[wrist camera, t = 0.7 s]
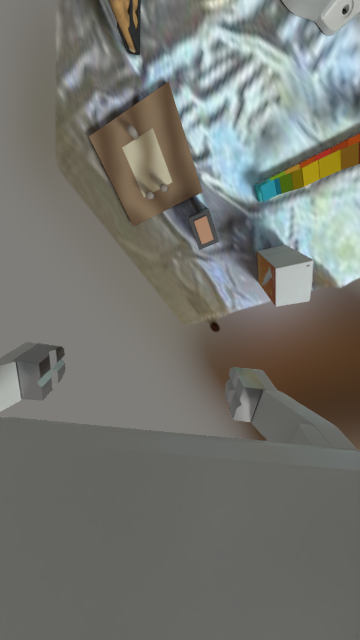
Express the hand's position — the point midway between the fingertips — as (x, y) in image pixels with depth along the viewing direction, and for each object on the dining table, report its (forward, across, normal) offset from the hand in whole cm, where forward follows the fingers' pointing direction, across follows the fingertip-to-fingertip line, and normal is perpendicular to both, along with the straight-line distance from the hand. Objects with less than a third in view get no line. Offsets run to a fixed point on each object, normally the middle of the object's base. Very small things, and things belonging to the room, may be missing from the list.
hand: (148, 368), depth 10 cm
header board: (+38, +7, -20) cm, 43 cm away
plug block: (+39, -6, -11) cm, 41 cm away
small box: (+40, -23, -6) cm, 46 cm away
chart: (+35, -28, -27) cm, 52 cm away
